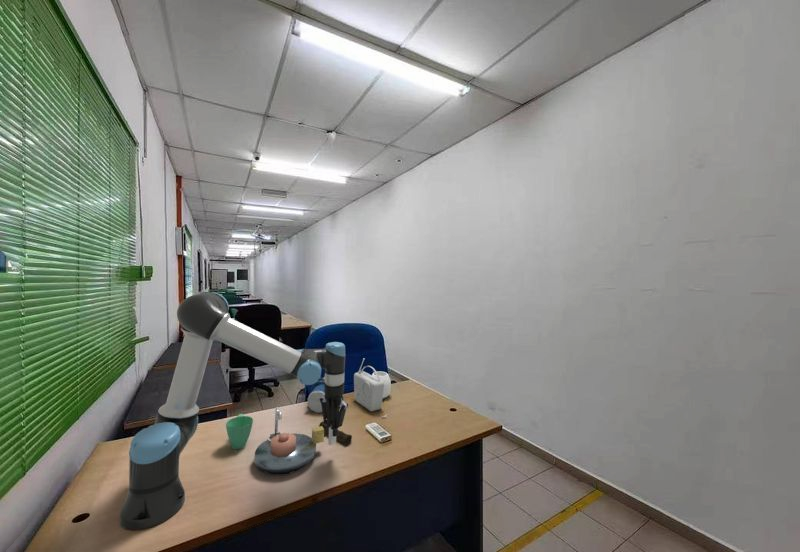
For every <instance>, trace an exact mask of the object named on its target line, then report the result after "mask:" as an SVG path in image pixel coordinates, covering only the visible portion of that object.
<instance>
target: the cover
mask: <svg viewBox="0 0 800 552" xmlns="http://www.w3.org/2000/svg"><path fill="white" fill-rule="evenodd" d="M293 434H294V433H287V432H284V433H281V434H279V435H277V436H275V437H273V438H272V439H271V448H270V453H271V455H273V456H275V457H284V456H288V455H290V454H292V453H293V452H294V451H295V449H296V436H295V435H293Z"/></svg>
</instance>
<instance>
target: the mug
mask: <svg viewBox="0 0 800 552" xmlns="http://www.w3.org/2000/svg"><path fill="white" fill-rule="evenodd" d="M253 422H254V419H253V417H251V416H248V415H244V414H243V413H239V414H237V416H236V417H233V418H231V419H229V420H227V422H226V424H225V428H226V432H227V437H228V440H229V443H230V445H231V449H233V450H241V449H243V448H245V447H246V445H247V443H248V441H249V437H250V435H251V432H252V428H253Z"/></svg>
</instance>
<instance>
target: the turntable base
mask: <svg viewBox="0 0 800 552" xmlns="http://www.w3.org/2000/svg"><path fill="white" fill-rule="evenodd" d="M307 465H308V463H307V464H305V465H303V466H301V467H299V468H296V469H293V470H290V471H284V472H270V471H265V470H262V471H263V472H264V473H267V474H269V475H274V476H283V475H288V474H292V473H295V472H297V471H299V470H301V469H303V468H304V467H305V466H307Z"/></svg>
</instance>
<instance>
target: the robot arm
mask: <svg viewBox="0 0 800 552" xmlns="http://www.w3.org/2000/svg"><path fill="white" fill-rule="evenodd" d="M229 309H230V308H229V302H228V301H227V299H226V298H225V296H223V295H222V294H220V293H217V292H214V291H203V292H200V293H197V294H192V295H190V296H187V297H186V298H185V299H183V300H182V301H181V302H180V303H179V305H178V308H177V311H176V317H177V318H176V319H177V321H178V323H179V324H180V326H181V327H180V330H181V331H182V332H183V334H184V337H183V341H182V343H181V347H180V352H179V354H178V358H177V362H176V364H175V365H176V366H175V369H174V373H173V377H172V381H171V383H170V388H169V392H168V396H167V398H166V402H165V403H164V404H163V405H161V406H160V407H159V408H158V411H157V414H156V418H155V422H154V423H153V424H151V425H149V426H148V427H145V428H142V429H141V430H140V431H138V432H137V433H136V434H135V435H134V436H133V438H132V439H131V441H130V447H129V451H128V455H129V464H128V466H129V471H128V476H129V477H128V492H127V495H126V498H125V499H124V502H123V505H122V507H121V510H120V514H119V525H120V526H121V527H122V528H123V529H126V530H129V531H131V530H132V531H139V530H144V529H147V528H148V529H149V528H152V527H155V526H157V525H159V524H161V523H163V522H166V521H167V520H169V519H170V518H171V517H173V516H174V515H175V514H177V513H178V512H179V511H180V510H181V509H182V507H183V506H184V505H185V501H186V492H185V489H184V486H183V484H182V482H181V479H180V476H179V475H180V474H179V471H180V468H179V467H180V455H181V454H182V452H183V451H184V449H185V448H186V446H187V444H188V443H189V441H190V439H192V437H194V435H195V433H196V431H197V428H198V426H199V424H198V423H199V416H198V415H199V414H200V413H199V412H200V407H199V406H198V405H197V400H198V398H199V394H200V390H201V386H202V382H203V379H204V376H205V372H206V371H205V370H206V368H207V363H208V360H209V356H210V353H211V348H212V346H213V342H214V340H215V341H216V340H217V341H218V342H221V343H223V344H225V345H227V346H229V347H231V348H234V349H236V350H238V351H240V352H242V353H244V354H247V355H248V356H250V357H253V358H254V359H257V360H259V361H262V362H264V363H266V364H268V365H269V366H272V367H275V368H277V369H278V370H281V371H283V372H285V373H287V374H289V375H292V376H293V377H295V378H297V380H298V382H300V383H301V384H303V385H304V386H311V385H312V384H314V383H316V382H317V381H318V380H319V379H320V377H321V375H322V370H324V377H325V385H324V393H325V396H324V397H322V398H320V402H321V406H322V412H321V413H322V418H323V422H324V424H327V426H328V434H329V435H328V443H327V445H329V446H332V445H334V444H335V443H337V439H336V436H337V434H338V430H339V428H340V427H342V426H343V424H344V419H345V416H346V411H347V409H348V407H349V403H346V402H345V401H344V396H343V395H344V392H345V373H346V372H345V371H346V369H345V368H346V367H345V366H346V345H345V343H343V342H339V341H332V342H328V343H326V344H325V347H324V348H301V349H294V348H293V347H291V346H289V345H287V344H284V343H283V342H280V341H278V340H277V339H275V338H272V337H271V336H269V335H266V334H264V333H262V332H261V331H258V330H256V329H254V328H252V327H250V326H248V325H246V324H244V323H241V322H240V321H238V320H237V319H234V318H231V315H230V313H229Z"/></svg>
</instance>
